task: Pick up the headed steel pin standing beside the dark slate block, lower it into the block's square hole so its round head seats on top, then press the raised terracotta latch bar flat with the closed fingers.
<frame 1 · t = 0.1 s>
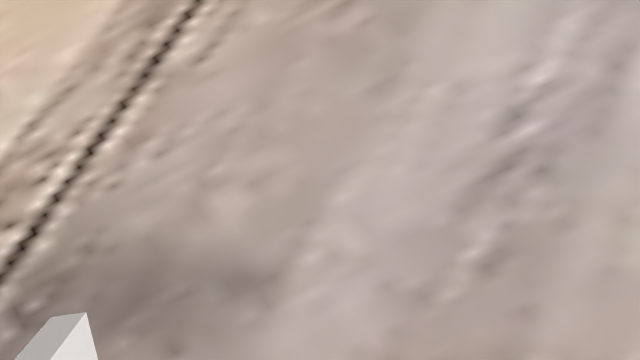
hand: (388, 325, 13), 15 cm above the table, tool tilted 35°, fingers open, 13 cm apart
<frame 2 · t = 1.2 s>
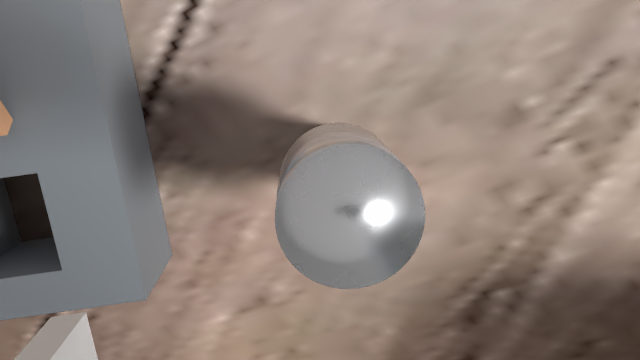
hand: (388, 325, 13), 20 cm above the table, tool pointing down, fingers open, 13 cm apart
slate block: (27, 100, 31), on the table
steel pin: (330, 158, 32), on the table
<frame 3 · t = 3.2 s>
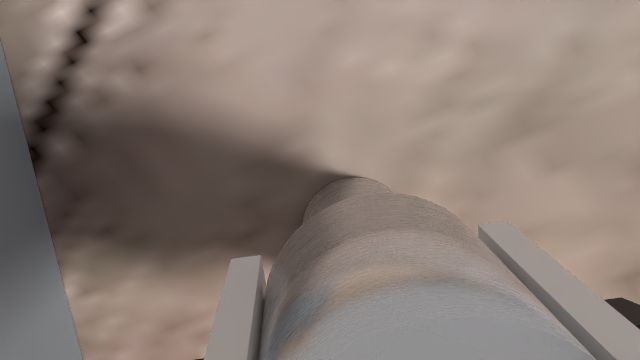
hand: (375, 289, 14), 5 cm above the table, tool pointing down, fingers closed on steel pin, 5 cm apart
steel pin: (354, 228, 19), on the table, touching gripper
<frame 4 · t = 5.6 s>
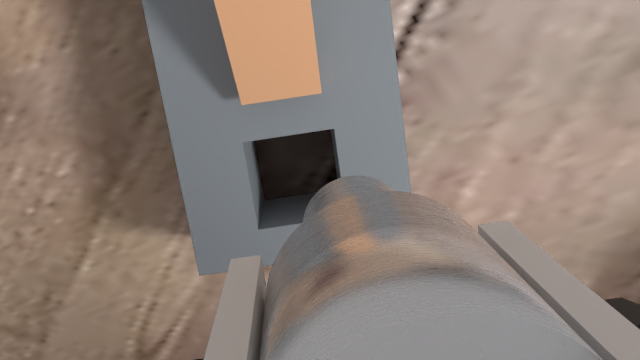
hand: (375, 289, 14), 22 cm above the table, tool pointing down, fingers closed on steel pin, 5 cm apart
slate block: (282, 70, 34), on the table
steel pin: (355, 227, 19), point 17 cm above the table, touching gripper
when the fingers open (7 cm above the table, at t = 8.4 s): steel pin drops 2 cm, resting on slate block.
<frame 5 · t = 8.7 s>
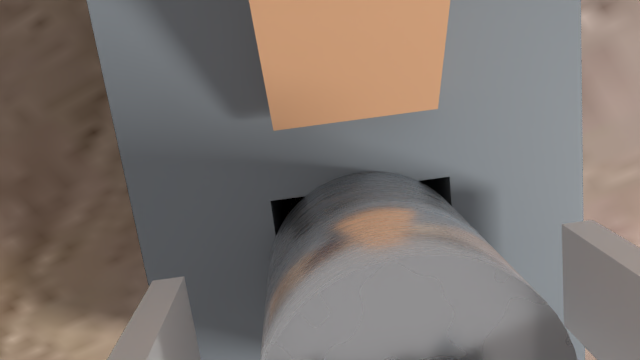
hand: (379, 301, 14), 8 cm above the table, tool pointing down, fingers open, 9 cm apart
slate block: (330, 62, 20), on the table
steel pin: (349, 210, 21), resting on slate block
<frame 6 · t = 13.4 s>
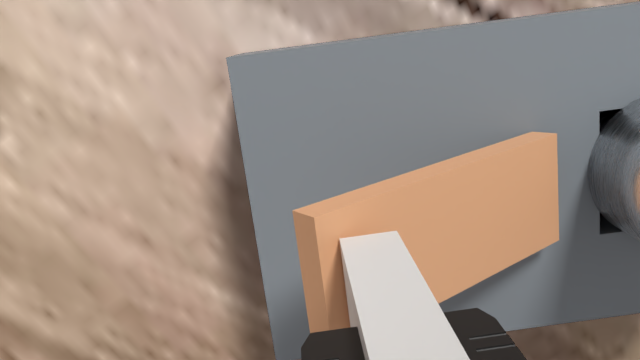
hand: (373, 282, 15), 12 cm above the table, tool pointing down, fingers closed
latch bar: (447, 227, 18), point 9 cm above the table, hinge at 33.4°, touching gripper
slate block: (469, 153, 27), on the table
steel pin: (585, 138, 27), resting on slate block
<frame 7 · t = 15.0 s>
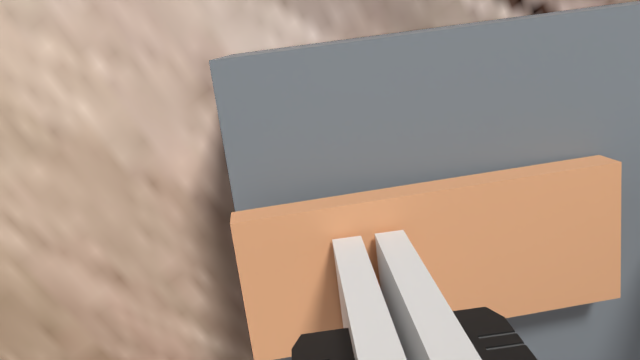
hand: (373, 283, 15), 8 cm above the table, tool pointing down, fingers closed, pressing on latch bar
latch bar: (431, 256, 16), point 7 cm above the table, hinge at 4.4°, touching gripper
slate block: (506, 174, 22), on the table
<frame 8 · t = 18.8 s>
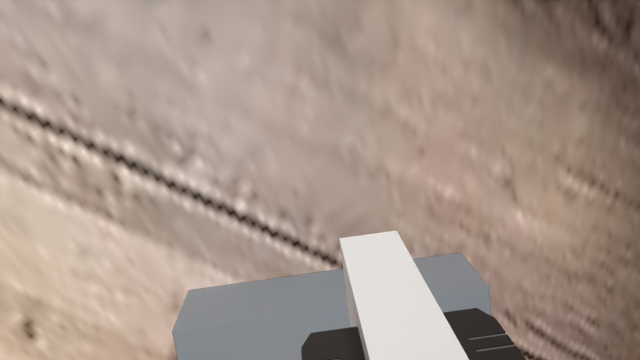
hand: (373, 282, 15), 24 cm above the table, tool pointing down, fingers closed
slate block: (335, 344, 42), on the table
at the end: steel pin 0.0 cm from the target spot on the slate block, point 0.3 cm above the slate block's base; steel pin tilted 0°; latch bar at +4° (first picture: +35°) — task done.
